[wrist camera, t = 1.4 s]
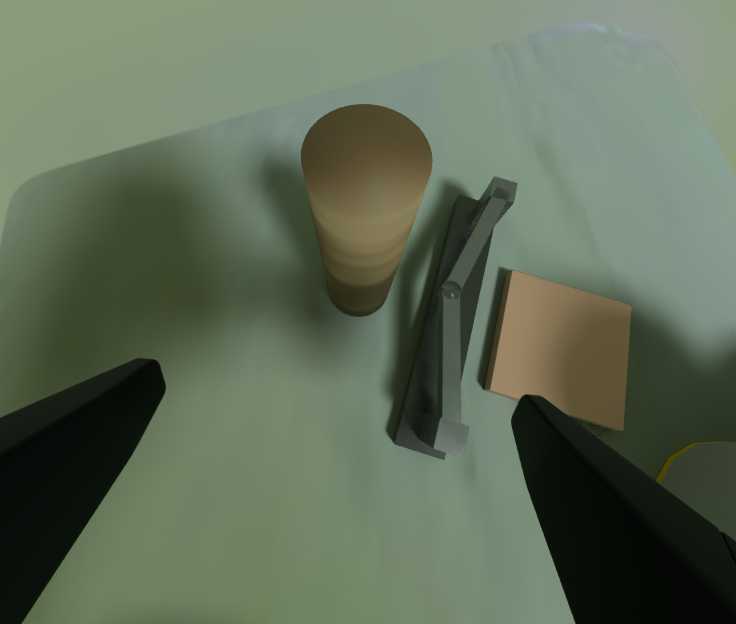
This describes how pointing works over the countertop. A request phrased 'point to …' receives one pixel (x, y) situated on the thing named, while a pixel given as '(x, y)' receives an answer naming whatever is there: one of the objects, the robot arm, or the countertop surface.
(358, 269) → the tan wooden cylinder
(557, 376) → the terracotta tile
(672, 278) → the countertop surface
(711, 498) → the soap bottle
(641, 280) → the countertop surface
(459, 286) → the gray metal frame
